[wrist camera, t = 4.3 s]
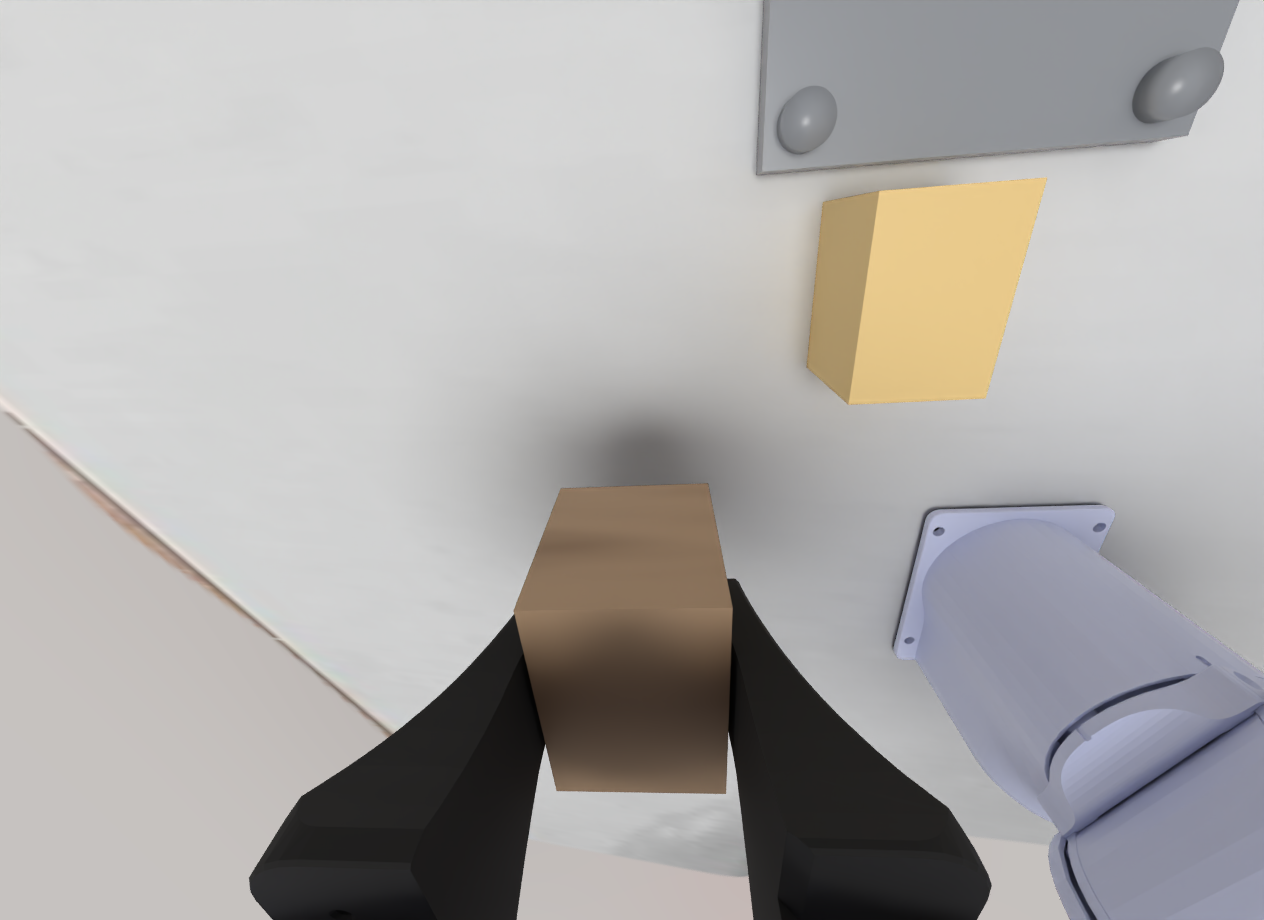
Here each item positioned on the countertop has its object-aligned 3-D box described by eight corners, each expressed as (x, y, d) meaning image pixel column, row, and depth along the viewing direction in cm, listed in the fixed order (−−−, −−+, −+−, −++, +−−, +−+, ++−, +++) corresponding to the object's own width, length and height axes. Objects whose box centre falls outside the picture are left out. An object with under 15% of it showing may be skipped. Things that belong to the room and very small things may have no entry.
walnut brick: (707, 638, 16) (726, 793, 11) (584, 639, 16) (556, 791, 12) (707, 483, 13) (732, 608, 9) (560, 488, 13) (513, 610, 9)
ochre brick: (910, 361, 19) (985, 398, 15) (805, 366, 19) (848, 404, 15) (944, 192, 16) (1047, 177, 12) (821, 202, 17) (879, 190, 12)
